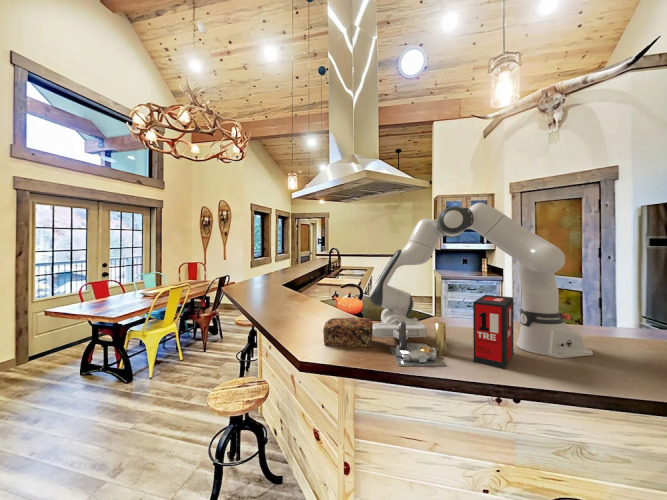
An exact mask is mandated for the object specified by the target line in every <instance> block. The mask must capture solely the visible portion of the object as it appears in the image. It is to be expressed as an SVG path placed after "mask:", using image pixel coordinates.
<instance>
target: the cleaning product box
mask: <svg viewBox="0 0 667 500" xmlns="http://www.w3.org/2000/svg"><path fill="white" fill-rule="evenodd" d="M472 303H473V308H472V311H473V323H472V324H473V337H472V338H473V363H477V364H480V365H485V366H489V367H493V368H497V369H501V370H505V369H506V368H507V366H508V364H509V363H510V360H511V359H512V357H513V355H514V297H513V296H501V295H492V294H491V295H490V294H485V295H483V296H481V297H479V298H477V299H476V300H474V301H472ZM508 362H509V363H508Z"/></svg>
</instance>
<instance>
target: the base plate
mask: <svg viewBox="0 0 667 500" xmlns="http://www.w3.org/2000/svg"><path fill="white" fill-rule="evenodd" d="M389 348H390V351H391V354H392V356H393V358H394V359H395V361H396V363H397V365H398V367H446V365H447V364H446V363H445V362H444V360H443V359H442V358H441V356H439V355H437V354H436V359H435V360H428V361H426V362H419V361H413V360H410V361H408V360H404V359H403V357H401V356H397V355H396V349H397V346H396V347H394V346H393V347H391V346H390V347H389Z"/></svg>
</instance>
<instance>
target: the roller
mask: <svg viewBox="0 0 667 500" xmlns="http://www.w3.org/2000/svg"><path fill="white" fill-rule="evenodd" d="M434 348H435V349H436V354H437V355H438V356H439V357H444V356H447V323H446V322H443V321H435V322H434Z"/></svg>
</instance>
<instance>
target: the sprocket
mask: <svg viewBox="0 0 667 500" xmlns="http://www.w3.org/2000/svg"><path fill="white" fill-rule="evenodd" d="M396 347H397V349H396V355H397V356H401V357H403V359H404V360H408V361H410V360H413V361H419V362H426V361H428V360H435V359H436V349H435V347H431V346H428V344H426V343H415V342H407V339H406V323H399V339H398V344H397V345H396Z"/></svg>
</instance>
